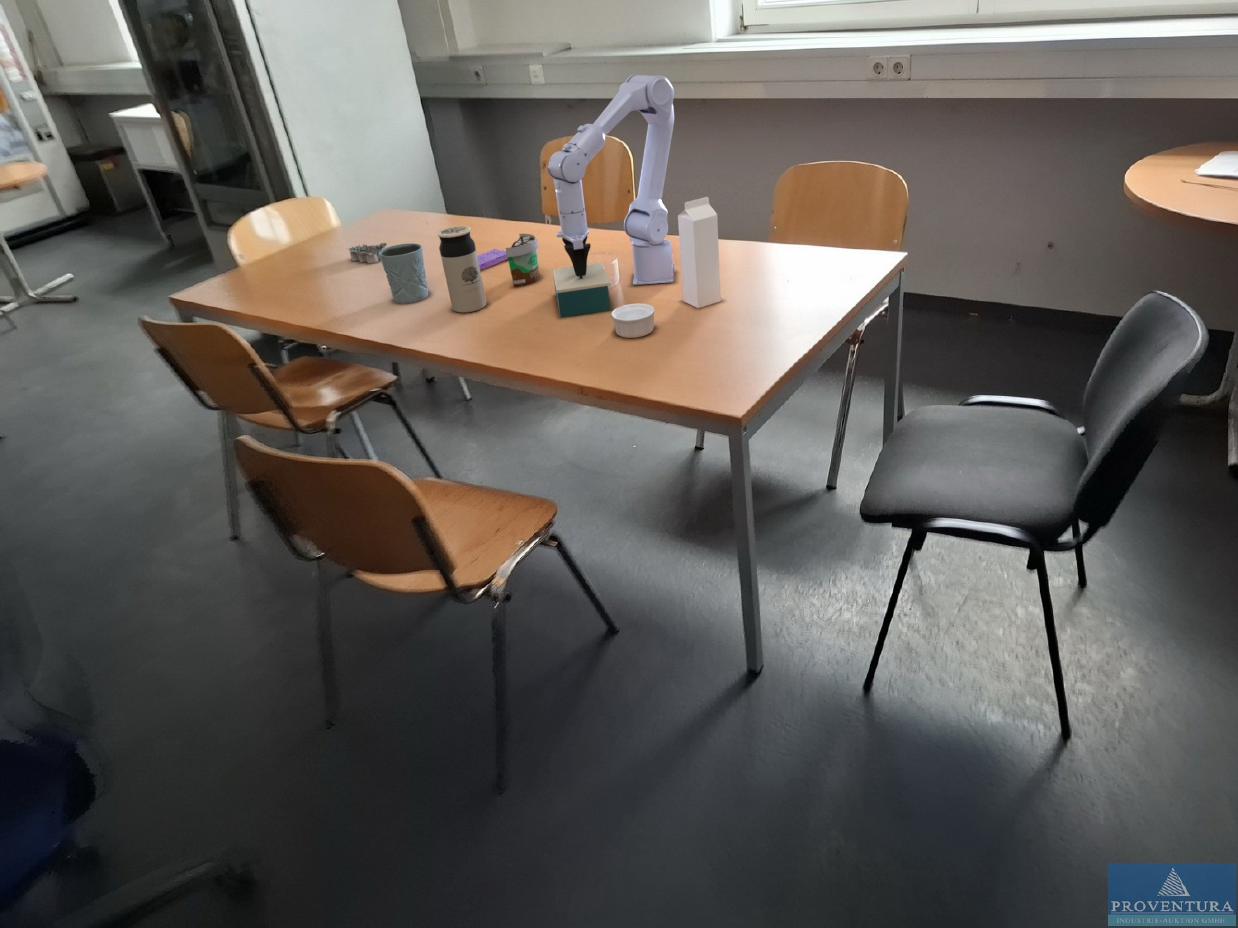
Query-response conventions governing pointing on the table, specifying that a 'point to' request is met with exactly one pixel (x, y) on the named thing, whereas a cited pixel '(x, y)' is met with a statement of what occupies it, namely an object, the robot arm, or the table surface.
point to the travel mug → (461, 269)
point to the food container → (523, 260)
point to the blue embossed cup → (405, 272)
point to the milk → (699, 253)
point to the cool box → (583, 301)
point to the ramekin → (633, 320)
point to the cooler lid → (580, 278)
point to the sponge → (491, 258)
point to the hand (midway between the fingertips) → (579, 272)
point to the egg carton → (366, 253)
